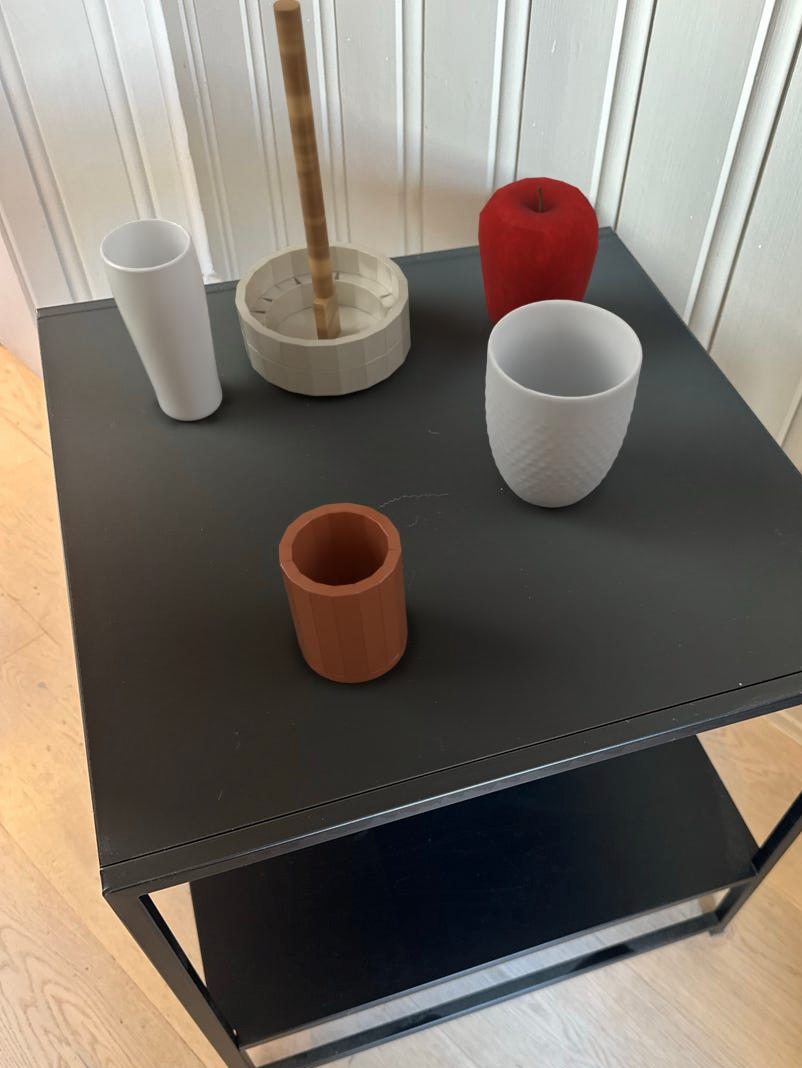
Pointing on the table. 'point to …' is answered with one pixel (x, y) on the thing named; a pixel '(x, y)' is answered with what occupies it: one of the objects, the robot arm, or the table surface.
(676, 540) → the table surface
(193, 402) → the white cylinder cup
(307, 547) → the crock
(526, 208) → the apple
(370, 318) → the bowl
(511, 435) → the mug
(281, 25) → the wooden rod
